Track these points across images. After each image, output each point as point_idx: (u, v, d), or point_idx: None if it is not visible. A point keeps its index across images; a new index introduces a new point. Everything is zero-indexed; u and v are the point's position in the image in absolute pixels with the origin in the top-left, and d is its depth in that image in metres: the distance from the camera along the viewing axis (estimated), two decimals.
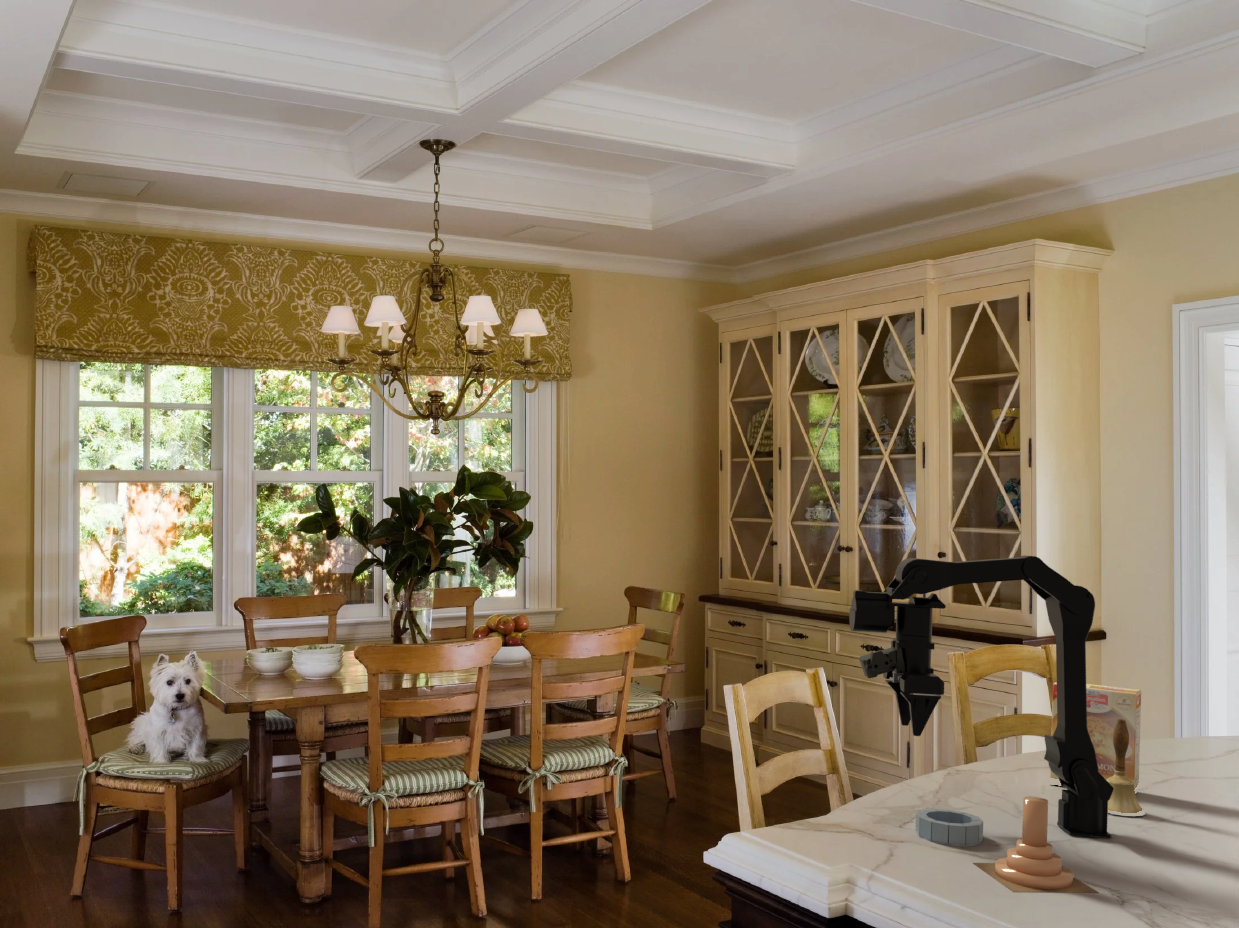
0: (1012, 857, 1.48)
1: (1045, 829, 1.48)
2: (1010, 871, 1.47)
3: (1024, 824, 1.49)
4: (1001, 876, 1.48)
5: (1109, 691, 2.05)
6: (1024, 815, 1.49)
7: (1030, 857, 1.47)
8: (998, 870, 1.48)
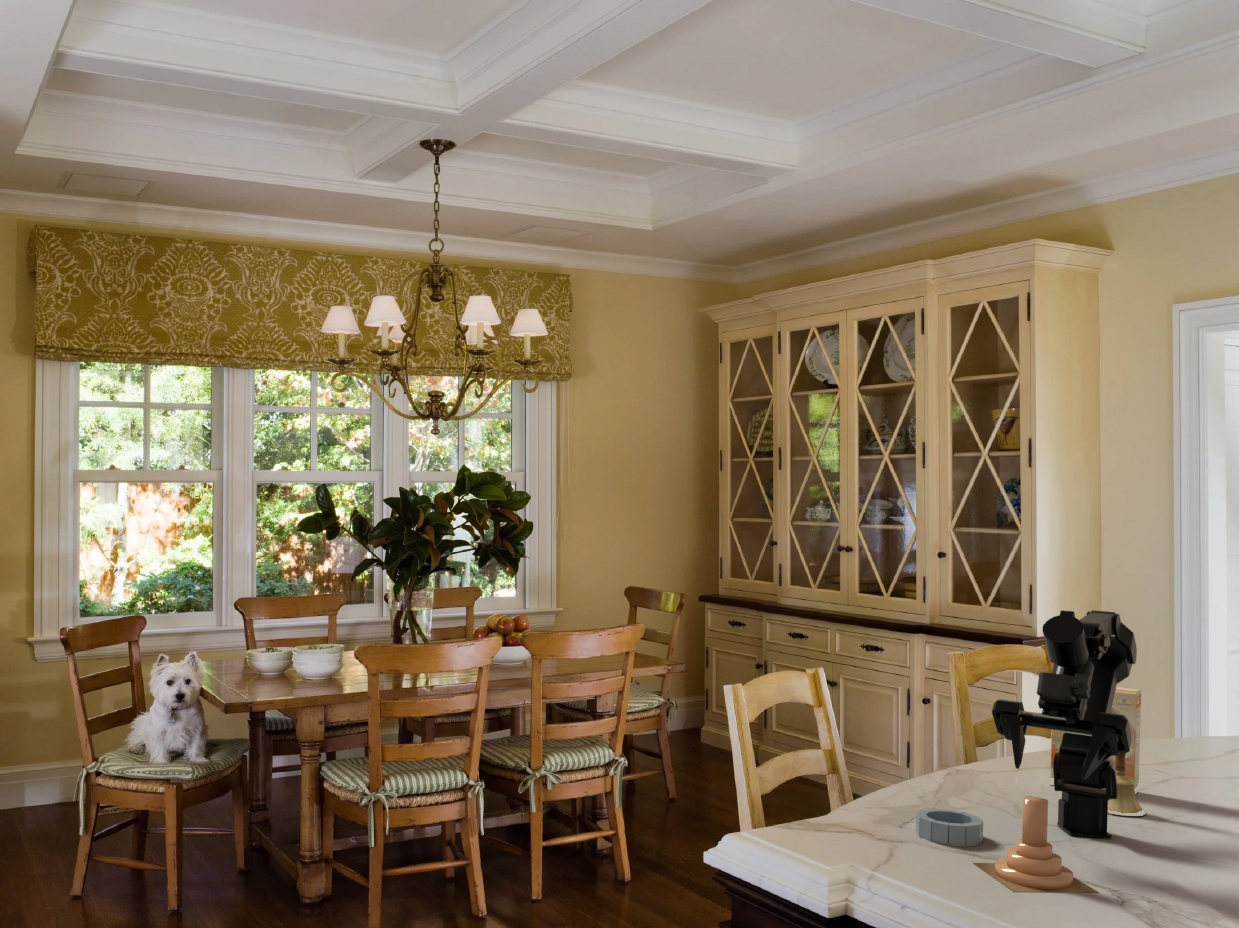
0: (1012, 857, 1.48)
1: (1045, 829, 1.48)
2: (1010, 871, 1.47)
3: (1024, 824, 1.49)
4: (1001, 876, 1.48)
5: None
6: (1024, 815, 1.49)
7: (1030, 857, 1.47)
8: (998, 870, 1.48)
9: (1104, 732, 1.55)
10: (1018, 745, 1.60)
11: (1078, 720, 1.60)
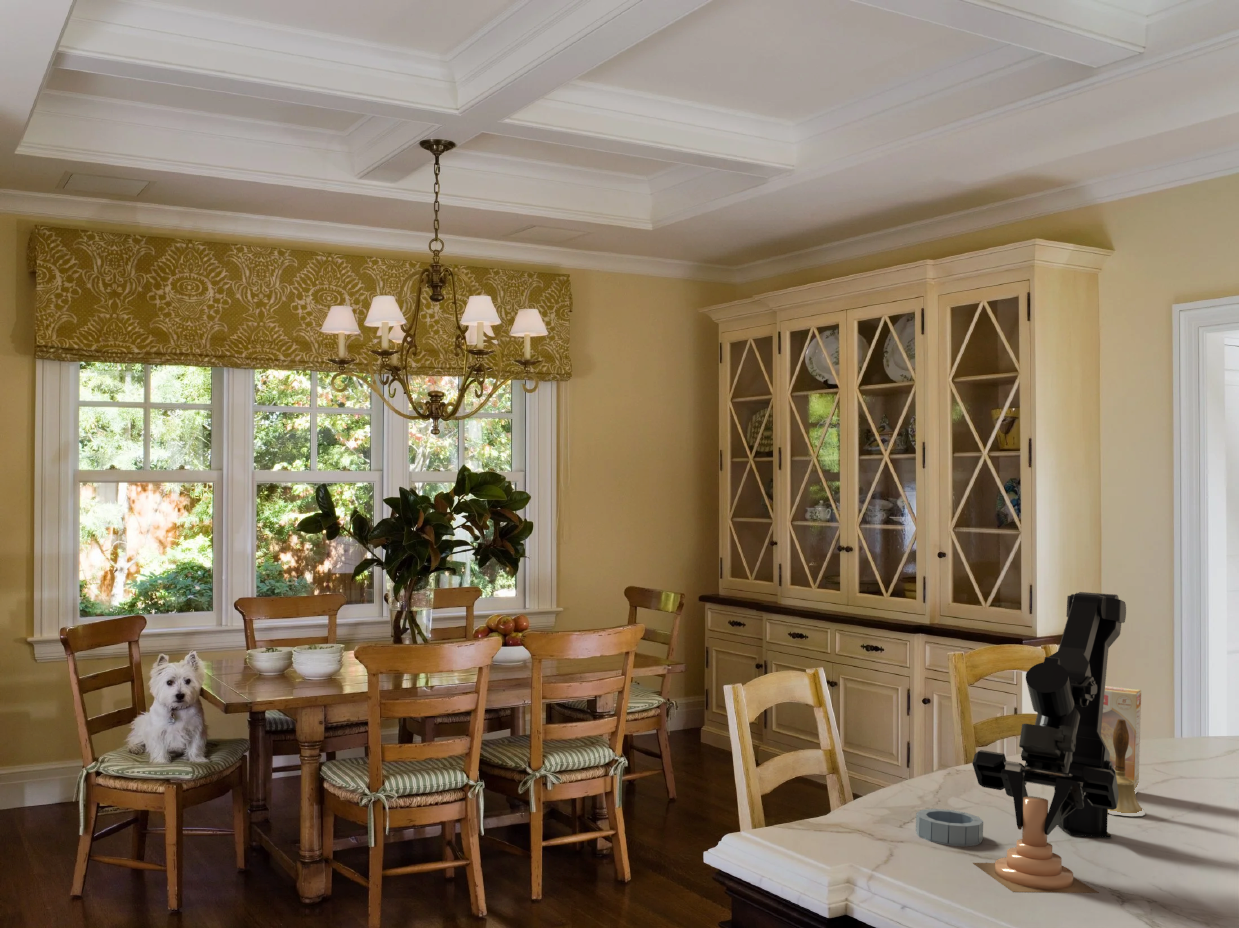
0: (1012, 857, 1.48)
1: None
2: (1010, 871, 1.47)
3: (1024, 823, 1.49)
4: (1001, 876, 1.48)
5: (1109, 691, 2.05)
6: (1024, 815, 1.49)
7: (1030, 857, 1.47)
8: (998, 869, 1.48)
9: (1067, 785, 1.48)
10: (1020, 804, 1.50)
11: None
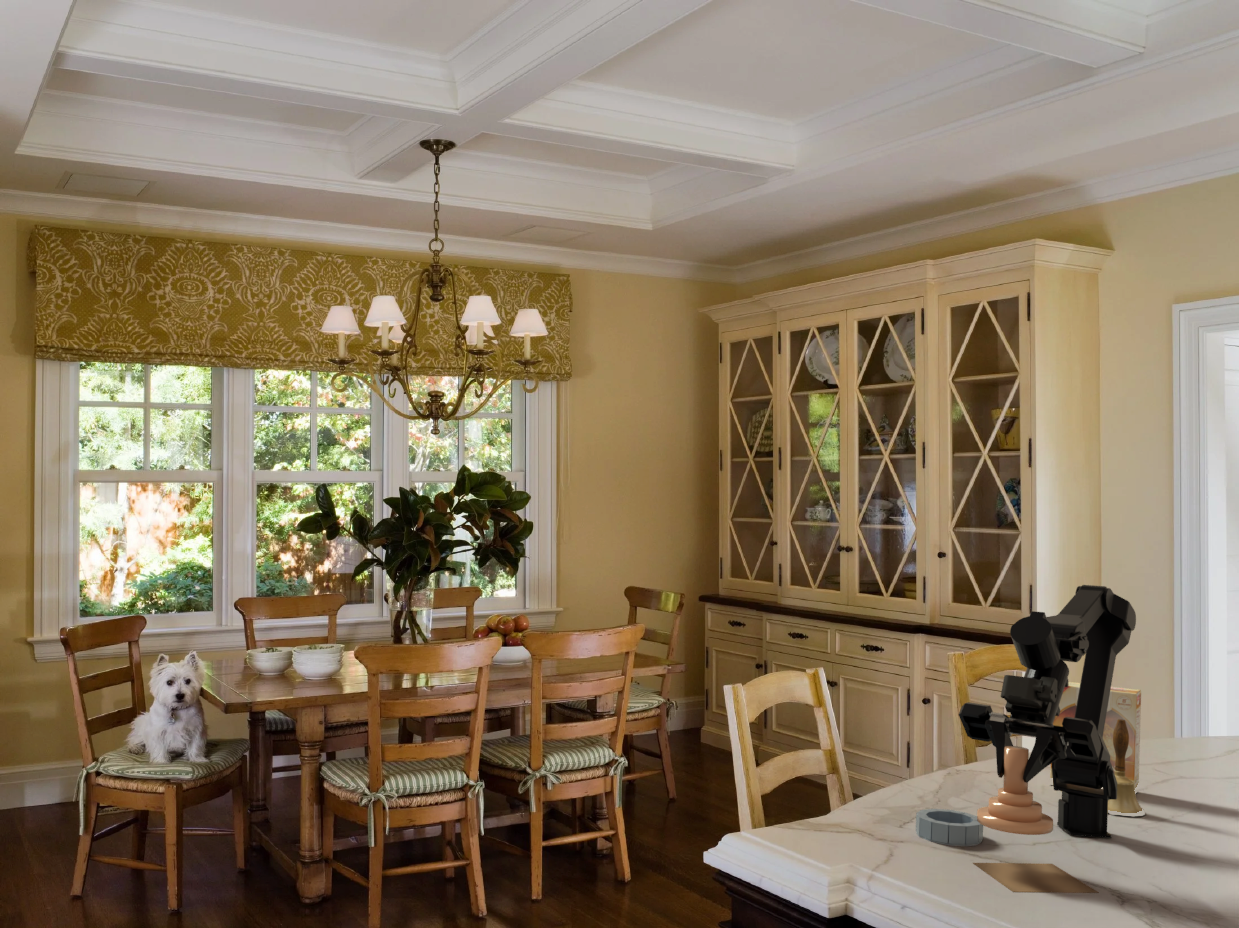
0: (992, 804, 1.51)
1: None
2: (989, 817, 1.50)
3: (1004, 772, 1.52)
4: (981, 822, 1.51)
5: None
6: (1005, 763, 1.52)
7: (1009, 804, 1.50)
8: (978, 816, 1.52)
9: (1047, 734, 1.51)
10: (1002, 753, 1.54)
11: None
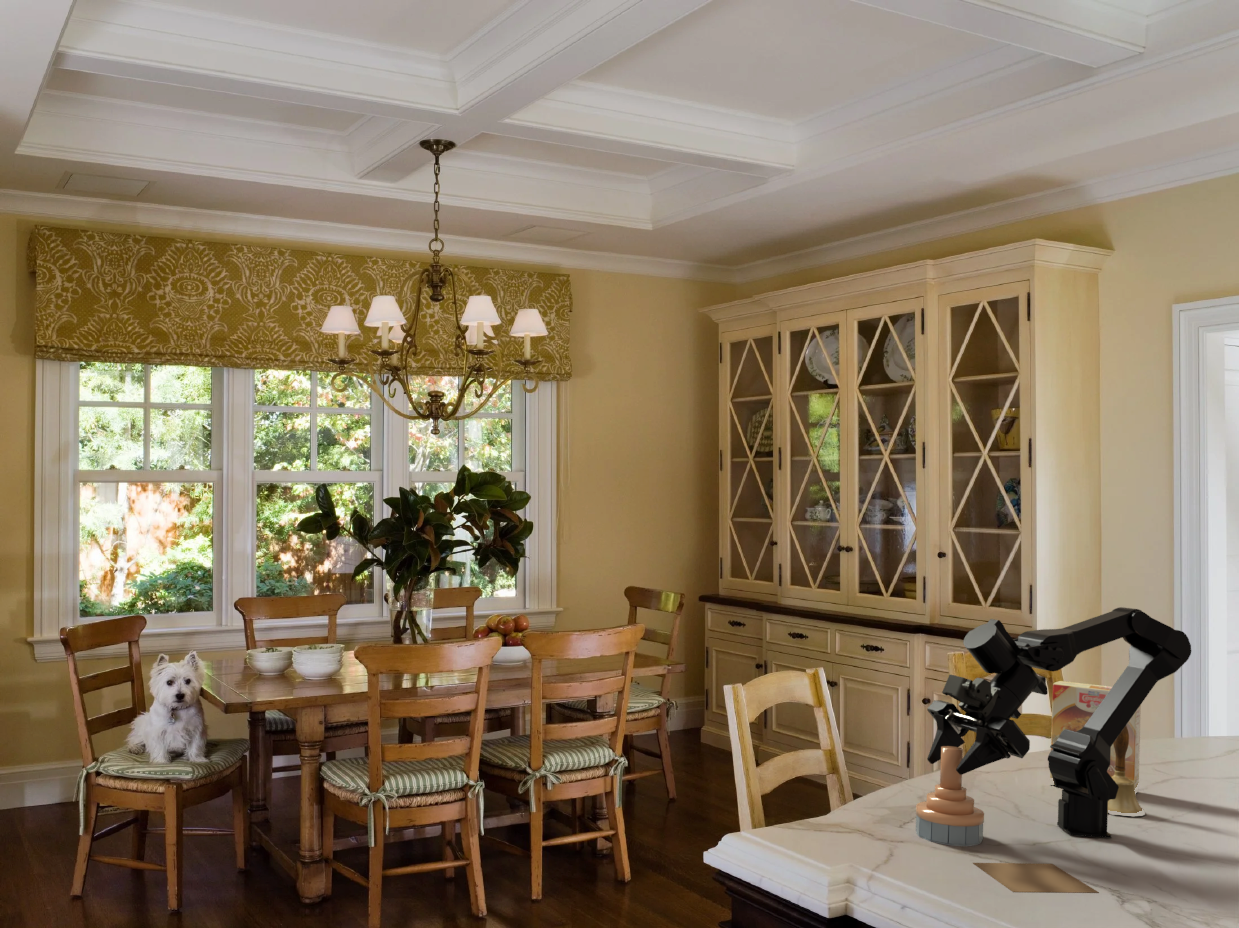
0: None
1: (954, 774, 1.66)
2: (920, 806, 1.68)
3: (940, 768, 1.68)
4: None
5: None
6: None
7: (938, 796, 1.67)
8: None
9: (983, 732, 1.63)
10: (936, 742, 1.71)
11: (988, 723, 1.67)
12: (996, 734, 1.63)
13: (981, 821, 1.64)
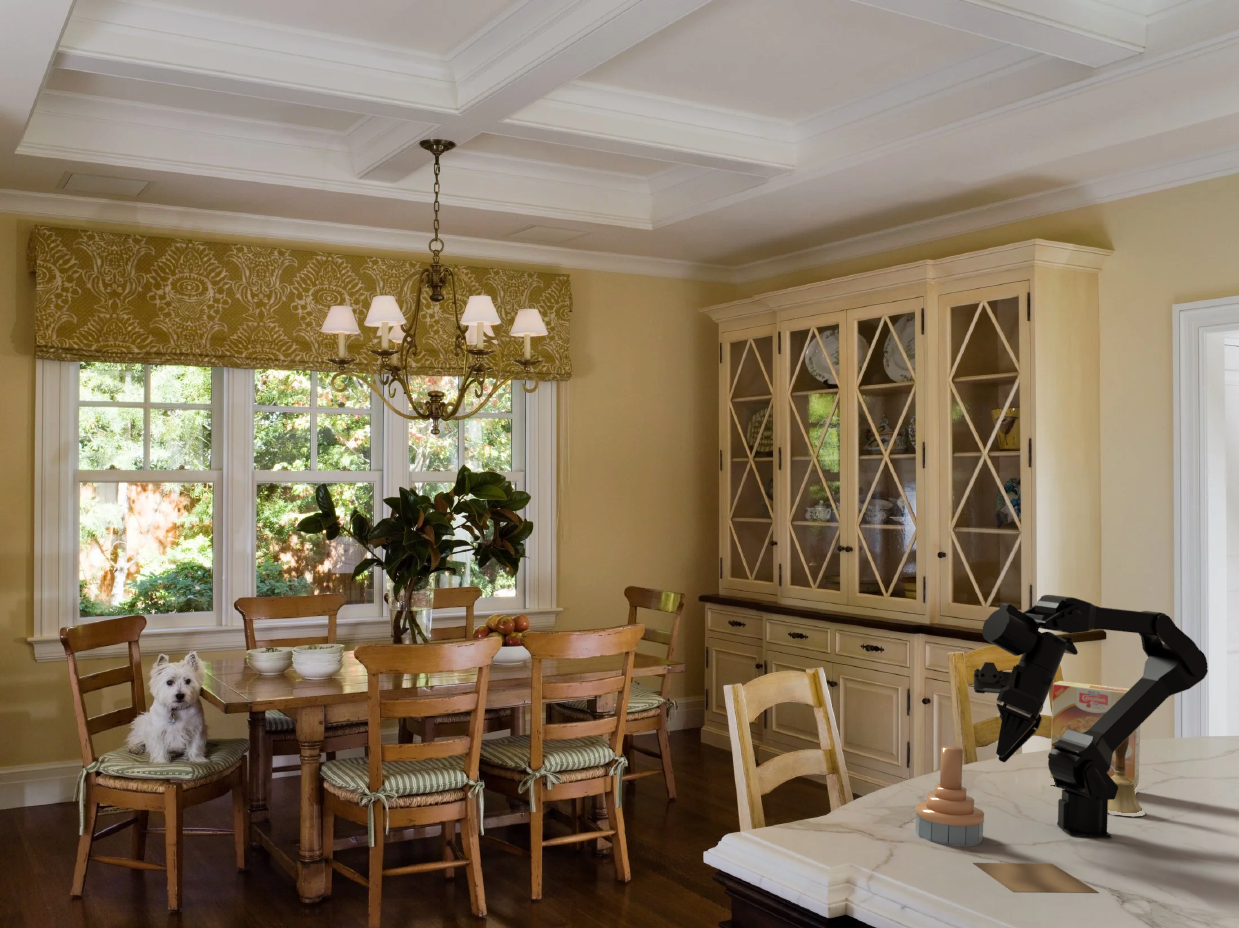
0: None
1: (954, 774, 1.66)
2: (920, 806, 1.68)
3: (940, 768, 1.68)
4: None
5: (1109, 691, 2.05)
6: None
7: (938, 796, 1.67)
8: None
9: (998, 708, 1.68)
10: None
11: None
12: (1007, 704, 1.67)
13: (981, 821, 1.64)
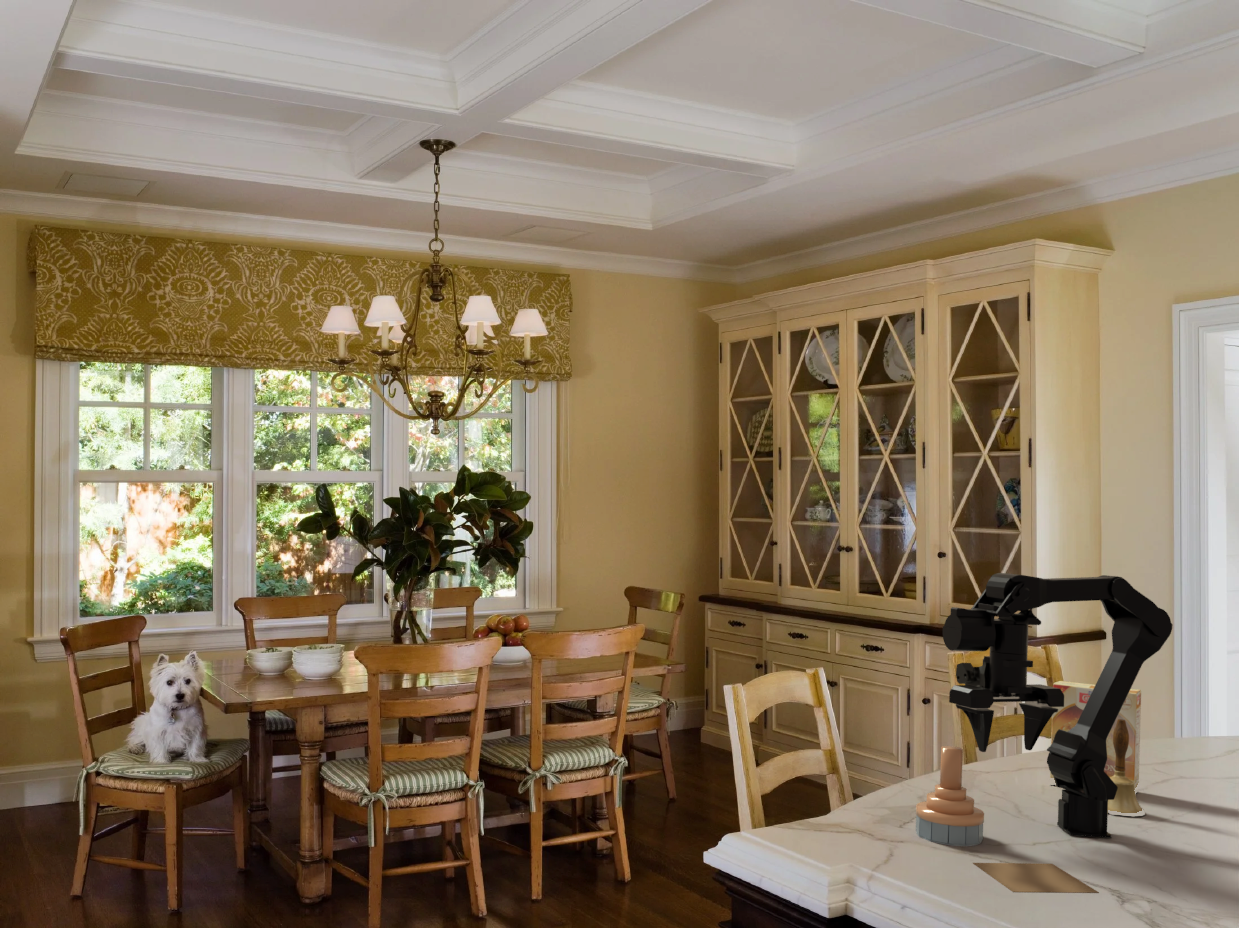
0: None
1: (954, 774, 1.66)
2: (920, 806, 1.68)
3: (940, 768, 1.68)
4: None
5: None
6: None
7: (938, 796, 1.67)
8: None
9: None
10: None
11: None
12: None
13: (981, 821, 1.64)
